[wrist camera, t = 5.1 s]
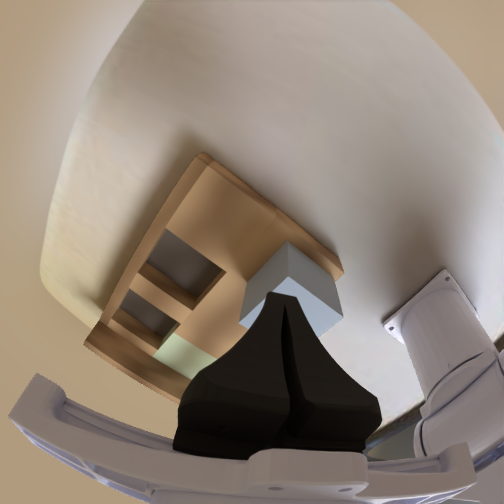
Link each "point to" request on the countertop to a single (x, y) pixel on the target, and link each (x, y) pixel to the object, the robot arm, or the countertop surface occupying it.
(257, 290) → the block
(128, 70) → the countertop surface
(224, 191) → the board
